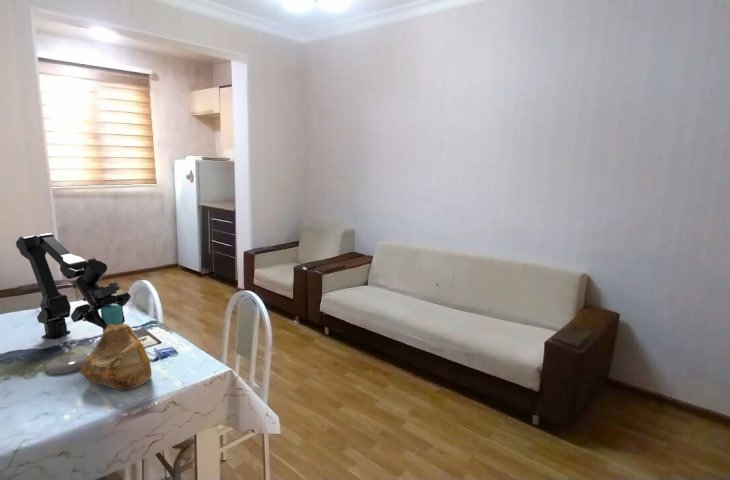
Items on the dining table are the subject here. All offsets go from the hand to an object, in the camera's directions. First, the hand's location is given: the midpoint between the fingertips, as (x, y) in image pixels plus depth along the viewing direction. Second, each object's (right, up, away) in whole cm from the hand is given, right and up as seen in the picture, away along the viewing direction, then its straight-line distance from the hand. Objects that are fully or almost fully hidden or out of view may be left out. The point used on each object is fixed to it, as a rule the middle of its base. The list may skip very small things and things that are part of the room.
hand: (115, 325), depth 144 cm
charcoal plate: (-10, -11, -8) cm, 17 cm away
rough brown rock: (+10, -14, -16) cm, 23 cm away
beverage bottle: (-1, -9, +2) cm, 10 cm away
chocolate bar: (+2, -8, +13) cm, 15 cm away
